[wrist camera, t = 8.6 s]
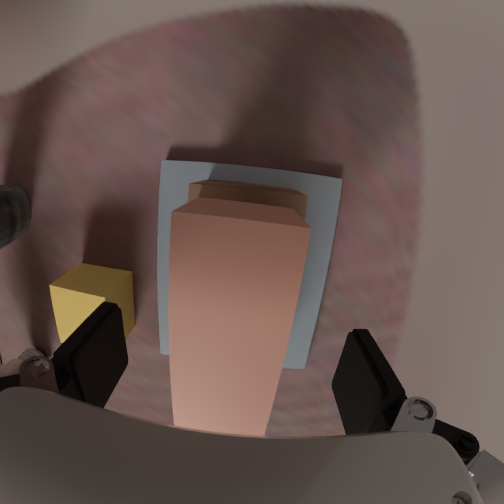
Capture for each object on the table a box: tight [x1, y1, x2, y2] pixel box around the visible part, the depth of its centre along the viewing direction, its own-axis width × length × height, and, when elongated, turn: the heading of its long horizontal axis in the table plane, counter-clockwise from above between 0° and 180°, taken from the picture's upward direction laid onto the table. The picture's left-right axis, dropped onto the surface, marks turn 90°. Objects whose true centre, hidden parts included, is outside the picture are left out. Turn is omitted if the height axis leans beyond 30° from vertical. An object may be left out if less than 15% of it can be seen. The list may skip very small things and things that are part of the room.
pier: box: [188, 179, 308, 221], centre depth 15 cm, size 5×4×5 cm
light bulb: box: [0, 348, 46, 377], centre depth 16 cm, size 7×7×12 cm
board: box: [157, 160, 343, 369], centre depth 18 cm, size 11×14×1 cm
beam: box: [168, 197, 311, 436], centre depth 11 cm, size 11×4×4 cm, turn 173°
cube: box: [49, 263, 135, 343], centre depth 17 cm, size 4×4×4 cm
